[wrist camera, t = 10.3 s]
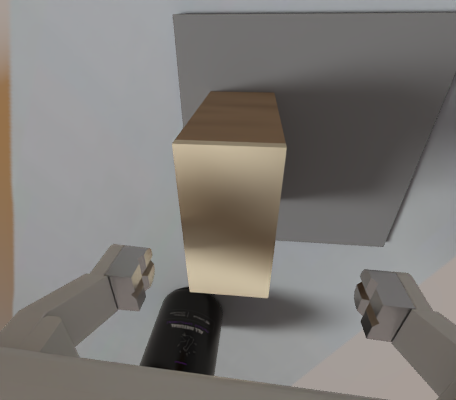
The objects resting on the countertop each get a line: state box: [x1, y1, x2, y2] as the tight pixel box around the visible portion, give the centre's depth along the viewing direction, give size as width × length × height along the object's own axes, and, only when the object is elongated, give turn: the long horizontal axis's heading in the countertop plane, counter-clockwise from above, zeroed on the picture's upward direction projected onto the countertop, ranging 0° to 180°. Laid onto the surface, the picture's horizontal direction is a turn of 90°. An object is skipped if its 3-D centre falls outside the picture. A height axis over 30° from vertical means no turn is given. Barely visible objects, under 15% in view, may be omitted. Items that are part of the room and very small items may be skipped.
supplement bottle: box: [139, 289, 223, 376], centre depth 25 cm, size 7×7×12 cm
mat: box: [173, 13, 456, 247], centre depth 19 cm, size 16×16×1 cm
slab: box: [172, 91, 287, 298], centre depth 15 cm, size 8×4×9 cm, turn 0°
